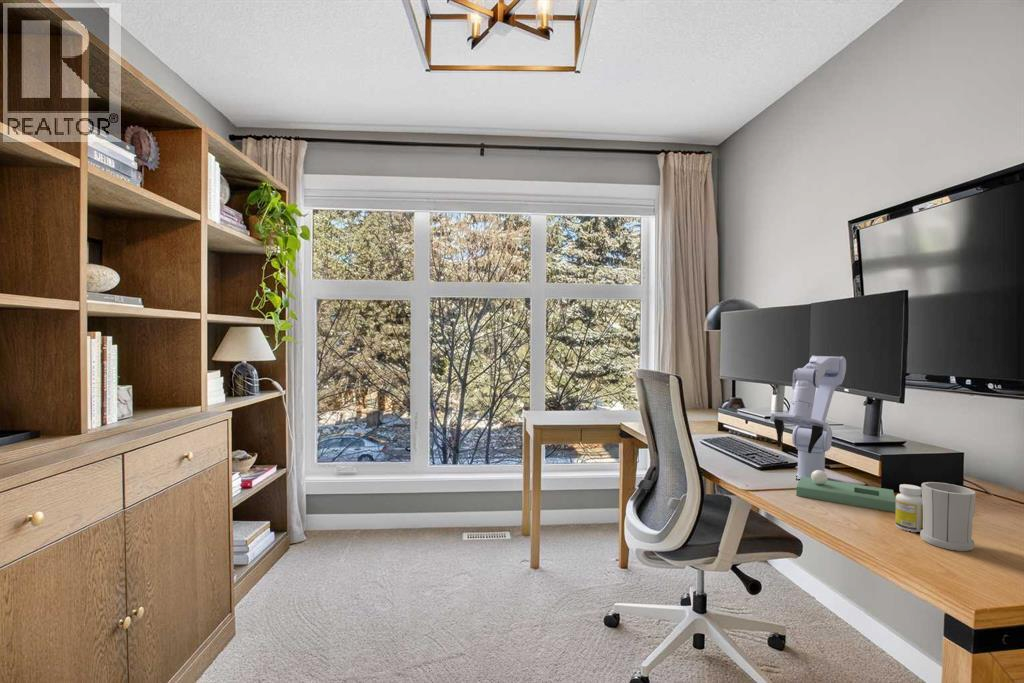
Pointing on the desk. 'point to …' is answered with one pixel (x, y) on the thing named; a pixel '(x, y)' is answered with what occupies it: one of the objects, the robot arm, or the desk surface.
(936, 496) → the cup
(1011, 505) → the desk surface
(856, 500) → the putting board
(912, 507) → the supplement bottle
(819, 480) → the ball
